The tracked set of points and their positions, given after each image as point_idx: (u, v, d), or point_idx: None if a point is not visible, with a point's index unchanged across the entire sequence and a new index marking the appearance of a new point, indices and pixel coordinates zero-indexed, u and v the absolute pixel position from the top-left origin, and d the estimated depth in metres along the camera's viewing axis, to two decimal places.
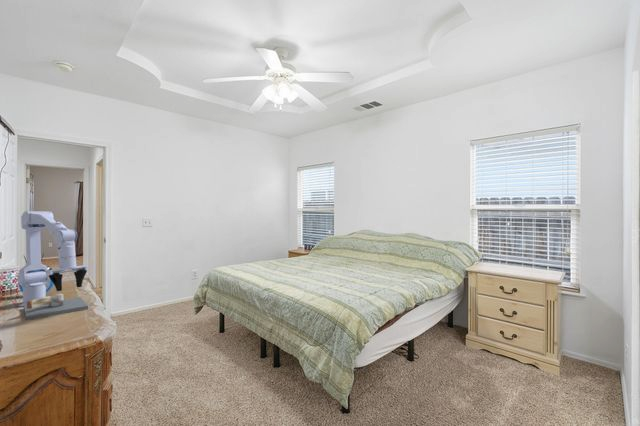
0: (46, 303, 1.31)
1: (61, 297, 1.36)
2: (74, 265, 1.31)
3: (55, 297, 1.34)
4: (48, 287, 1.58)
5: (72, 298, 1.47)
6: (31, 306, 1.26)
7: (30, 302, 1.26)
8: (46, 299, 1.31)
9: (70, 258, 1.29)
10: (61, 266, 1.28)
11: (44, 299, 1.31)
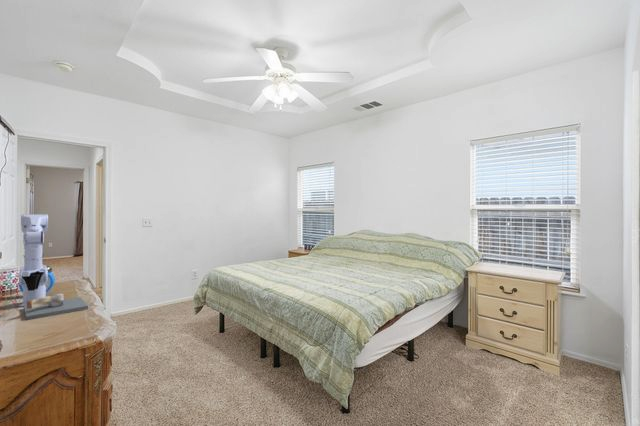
0: (46, 303, 1.31)
1: (61, 297, 1.36)
2: (42, 266, 1.34)
3: (55, 297, 1.34)
4: (48, 287, 1.58)
5: (72, 298, 1.47)
6: (31, 306, 1.26)
7: (30, 302, 1.26)
8: (46, 299, 1.31)
9: (41, 260, 1.33)
10: (32, 267, 1.30)
11: (44, 299, 1.31)
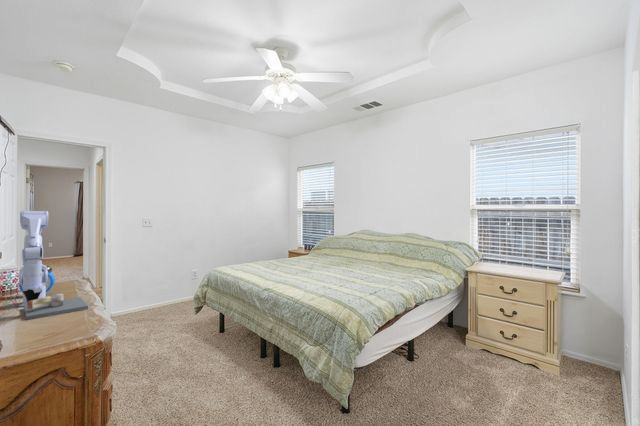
0: (46, 303, 1.31)
1: (61, 297, 1.36)
2: None
3: (55, 297, 1.34)
4: (48, 287, 1.58)
5: (72, 298, 1.47)
6: (32, 306, 1.26)
7: (31, 302, 1.26)
8: (46, 299, 1.31)
9: (41, 275, 1.31)
10: (36, 283, 1.28)
11: (44, 299, 1.31)
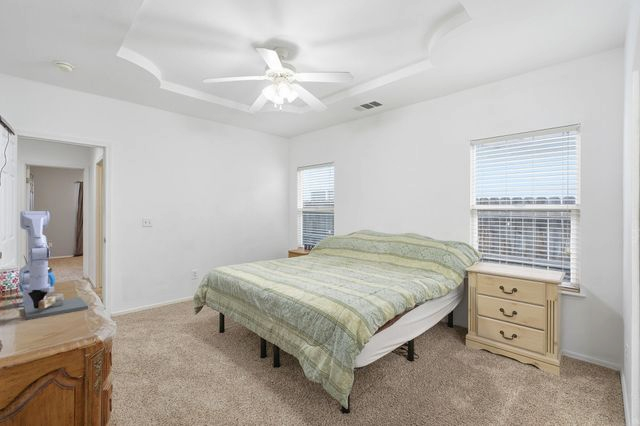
0: (52, 303, 1.32)
1: None
2: None
3: (59, 297, 1.35)
4: None
5: (72, 298, 1.47)
6: (44, 306, 1.27)
7: (43, 302, 1.26)
8: (52, 299, 1.32)
9: None
10: (45, 284, 1.28)
11: (51, 299, 1.31)
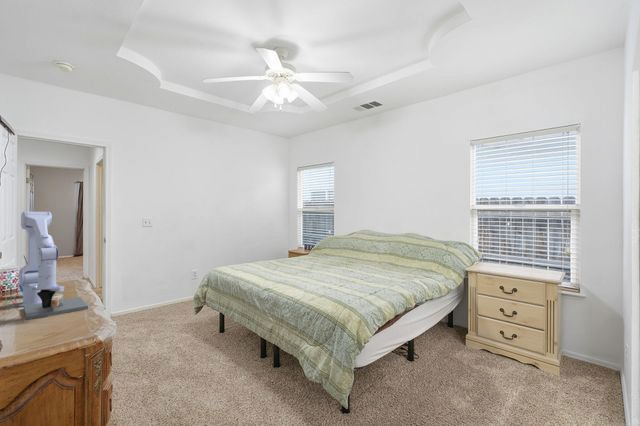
0: (58, 302, 1.33)
1: None
2: None
3: (61, 296, 1.36)
4: None
5: (72, 298, 1.47)
6: (57, 304, 1.29)
7: (57, 301, 1.28)
8: (58, 298, 1.33)
9: None
10: (54, 283, 1.29)
11: (58, 298, 1.32)
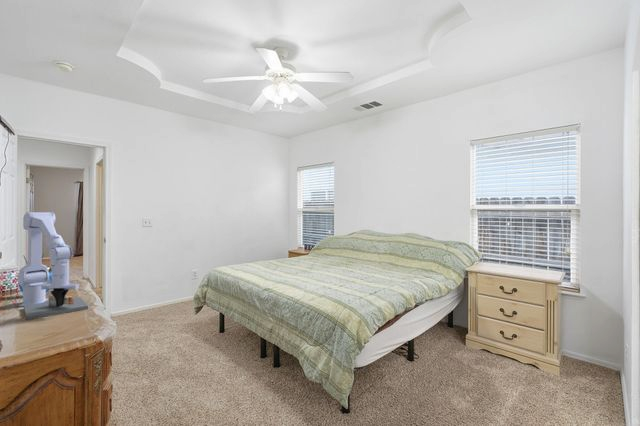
0: None
1: None
2: None
3: None
4: None
5: None
6: None
7: None
8: None
9: None
10: (67, 282, 1.31)
11: None
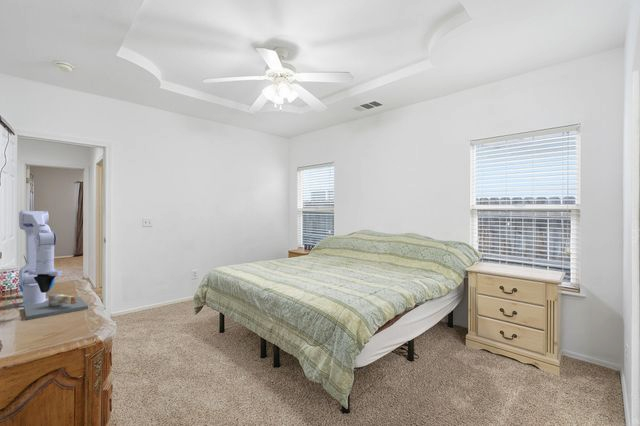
0: None
1: None
2: None
3: (63, 295, 1.37)
4: None
5: None
6: None
7: None
8: None
9: None
10: (52, 268, 1.30)
11: None
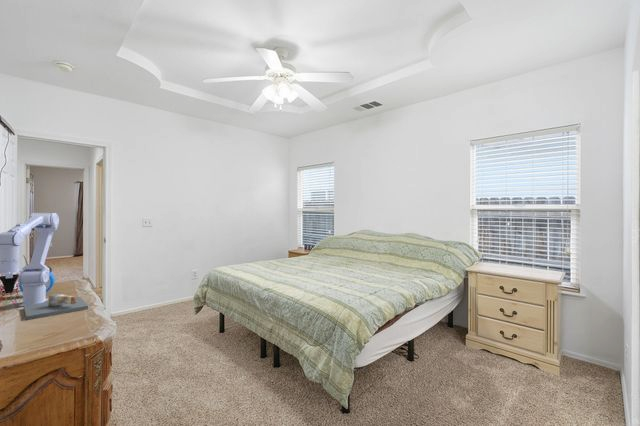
0: None
1: None
2: None
3: (63, 295, 1.37)
4: (48, 287, 1.58)
5: None
6: None
7: None
8: None
9: (18, 261, 1.29)
10: (11, 269, 1.26)
11: None
